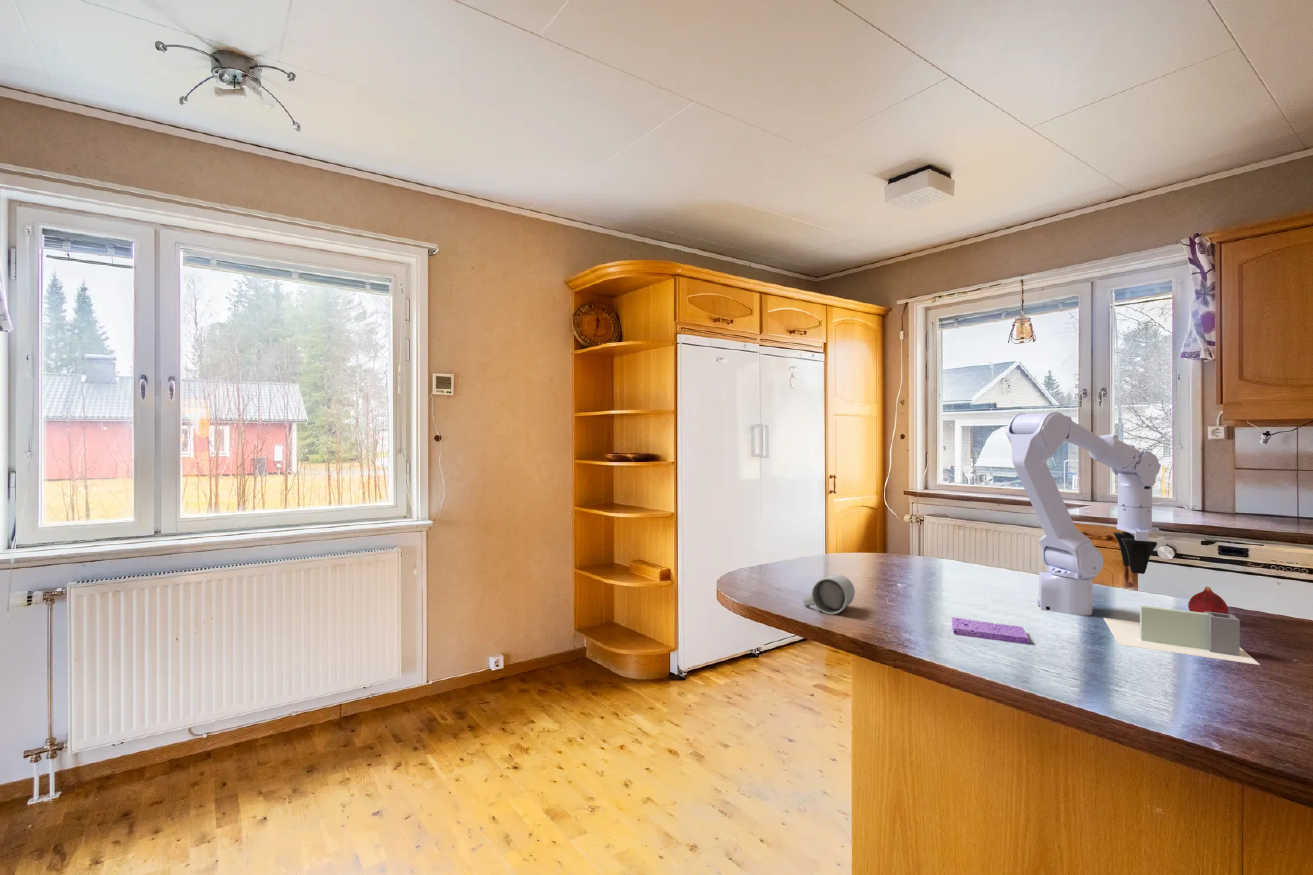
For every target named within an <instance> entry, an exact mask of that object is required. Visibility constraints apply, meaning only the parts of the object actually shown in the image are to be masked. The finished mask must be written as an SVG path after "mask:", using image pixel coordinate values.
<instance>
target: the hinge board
mask: <svg viewBox="0 0 1313 875" xmlns="http://www.w3.org/2000/svg"><path fill="white" fill-rule="evenodd" d="M1102 619H1103V620H1104V621H1105V622H1104V623H1106V625H1107V627H1108V629H1109V630H1110V632H1111V633H1112V635H1113V636H1114V638H1115V641H1116V642H1117V644H1118V645H1120V646H1126V647H1132V648H1138V649H1148V650H1153V651H1161V652H1169V653H1173V654H1174V653H1176V654H1180V655H1181V654H1182V655H1189V656H1195V657H1203V658H1210V659H1215V660H1223V661H1229V662H1230V661H1231V662H1237V663H1244V664H1251V665H1258V666H1261V664H1260V663H1259V662H1258V661H1256V659H1254V658H1253V657H1252V656H1251V655H1250V654H1248V652H1246V651H1245V650H1244V649H1243V648H1241V647H1240V652H1239V656H1235V655H1228V654H1221V653H1213V652H1210V651H1209V650H1206V649H1199V648H1192V647H1185V646H1177V645H1170V644H1163V643H1156V642H1149V641H1142V640H1141V639H1140V621H1131V620H1125V619H1116V618H1108V617H1102Z"/></svg>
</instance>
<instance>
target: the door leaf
mask: <svg viewBox="0 0 1313 875" xmlns="http://www.w3.org/2000/svg"><path fill="white" fill-rule="evenodd" d="M1139 622H1140V639H1141V640H1142V641H1149V642H1156V643H1163V644H1170V645H1177V646H1185V647H1192V648H1199V649H1206V650H1209V651H1210V652H1213V653H1221V654H1228V655H1235V656H1239V652H1240V648H1241V646H1240V645H1241V644H1240V642H1241V640H1240V638H1241V636H1240V635H1241V634H1240V632H1241V620H1240V619H1239V618H1237V617H1236V616H1235V615H1233V614H1232V613H1231V614H1230V613H1228V614H1223V613H1215V612H1206V611H1204V613H1201V612H1192V611H1189V610H1182V609H1174V608H1165V607H1156V606H1148V605H1140V606H1139Z"/></svg>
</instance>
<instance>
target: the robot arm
mask: <svg viewBox="0 0 1313 875" xmlns="http://www.w3.org/2000/svg"><path fill="white" fill-rule="evenodd" d="M1005 435H1006V436H1007V439H1008V441H1009V443H1010V445H1011V448H1010V449H1011V459H1012V461H1011V462H1012V465H1013V466H1014V469H1015V471H1016V474H1017V475H1018V478H1019V480H1020V482H1021V484H1022V486H1023V488H1024V490H1025V493H1026V495H1027V498H1028V499H1029V502H1030V504H1031V506H1032V508H1033V510H1034V513H1035V514H1036V517H1037V519H1038V522H1039V524H1040V525H1041V528H1042V530H1043V532H1044V535H1042V537H1041V538H1040V539H1039V540H1038V543H1039V545H1040V546H1039V547H1041V549H1040V550H1041V560H1042V561H1043V563H1044V564H1045V566H1047V571H1048V572H1045V571H1040V572H1039V574H1038V576H1039V577H1038V597H1037V607H1038V608H1040V610H1041V611H1044V612H1045V611H1048V612H1055V613H1061V614H1067V615H1073V616H1085V617H1086V616H1091V615H1092V614H1093V589H1094V588H1093V581H1094V580H1093V579H1097V575H1099V574H1100V572H1101V571H1102V570H1103V567H1104V556H1103V554H1102V552H1101V551H1100V550H1099V549H1098V548H1097V547H1096V546H1095V545H1094V544H1093V542H1092V540H1091V538H1089V537H1088V536H1086V535H1085V534H1084V533H1082V532H1081V531H1080V530H1079V529H1077V527H1076V525H1075V523H1074V521H1073V519H1072V517H1071V514H1070V512H1069V510H1068V507H1067V505H1066V504H1065V501H1064V499H1063V497H1062V494H1061V492H1060V490H1059V488H1058V486H1057V483H1056V481H1055V480H1054V477H1053V475H1052V472H1051V470H1050V468H1049V465H1048V464H1047V462H1048V460H1049V459H1050V458H1052V457H1053V455H1054V454H1055V453H1056V452H1057V450H1058V449H1059V448H1060V446H1061V445H1062V444H1063V443H1064V441H1065V442H1067V443H1071V444H1073V445H1075V446H1077V447H1080V448H1083V449H1084V450H1086V451H1088V452H1087V453H1088V455H1089V457H1090V458H1091V459H1093V460H1095V461H1097V462H1099V463H1101V464H1103V465H1105V466H1107V467H1109V468H1110V470H1111V471H1112V473H1113V474H1114V475H1115V476H1117V524H1116V525H1115V526H1116V530H1118V531H1122V532H1117V531H1116V532H1115V531H1114V532H1113V535H1114V537H1115V539H1116V541H1117V542H1118V545H1119V546H1118V547H1119V549H1120V554H1121V555H1120V556H1121V559H1122V563H1123V565H1124V566H1125V567H1126V566H1128V567H1129V569H1130V573H1132V574H1140V575H1145V573H1146V570H1147V567H1148V565H1149V560H1150V558H1151V555H1152V553H1153V551H1154V550H1155V548H1156V547H1157V545H1158V542H1157V541H1150V540H1149V534H1152V533H1153V532H1156V533H1158V532H1160V528H1158V527H1156V526H1155V527H1153V486H1155V484H1156V479H1157V475H1158V474H1159V473H1160V470H1161V466H1162V464H1161V463H1160V461H1159V459H1158V457H1157V455H1155V453H1153V452H1151V451H1149V450H1139V449H1138V448H1136V446H1135V445H1134V444H1132V443H1131V444H1130V443H1126V442H1124V441H1121V440H1120V439H1119V436H1118V435H1115V434H1103V435H1098V434H1095V433H1093V432H1092V431H1090V430H1088V429H1087V428H1086V427H1083V426H1081V425H1080V424H1079V423H1076V422H1075V421H1073V420H1072V417H1071V416H1068V415H1065V414H1063V413H1061V412H1058V411H1052V412H1051V411H1050V412H1040V413H1037V412H1036V413H1025V412H1022V413H1021V412H1019V413H1017V414H1015V415H1013V416H1012V417H1011V418H1010V421H1009V423H1008V425H1007V427H1006V430H1005ZM1048 608H1049V609H1048Z"/></svg>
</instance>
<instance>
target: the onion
mask: <svg viewBox="0 0 1313 875" xmlns="http://www.w3.org/2000/svg"><path fill="white" fill-rule="evenodd" d="M1187 605H1188V606H1187V607H1188V611H1192V612H1201V613H1204V611H1206V612H1215V613H1223V614H1230V613H1229V607H1228V604H1227V603H1226V601H1225V600H1224V599H1223V598H1222V597H1221V595H1220V596H1219V595H1218V594H1217V593H1215V592H1214V591H1213V590H1212V588H1211V587H1210V586H1205V587H1204V590H1203V591H1200V592H1198V593H1196V594H1194V595H1193V596H1191V598H1190V599H1189V601H1188V604H1187Z"/></svg>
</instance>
